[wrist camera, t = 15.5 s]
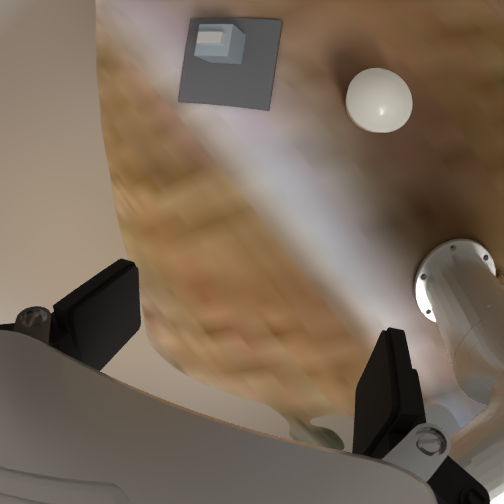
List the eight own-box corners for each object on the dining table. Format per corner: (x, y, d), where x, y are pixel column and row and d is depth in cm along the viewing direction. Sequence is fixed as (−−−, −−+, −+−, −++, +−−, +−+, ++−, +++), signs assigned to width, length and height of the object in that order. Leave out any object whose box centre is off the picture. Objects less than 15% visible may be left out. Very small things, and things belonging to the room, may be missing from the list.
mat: (282, 21, 32) (281, 20, 31) (269, 110, 37) (268, 110, 36) (192, 19, 34) (190, 18, 33) (180, 102, 39) (178, 101, 38)
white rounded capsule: (401, 87, 31) (416, 77, 24) (393, 137, 34) (406, 140, 27) (349, 74, 33) (351, 61, 25) (341, 125, 35) (342, 123, 28)
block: (245, 35, 33) (229, 21, 27) (241, 64, 35) (224, 54, 29) (215, 34, 34) (195, 21, 28) (210, 62, 35) (189, 53, 30)
